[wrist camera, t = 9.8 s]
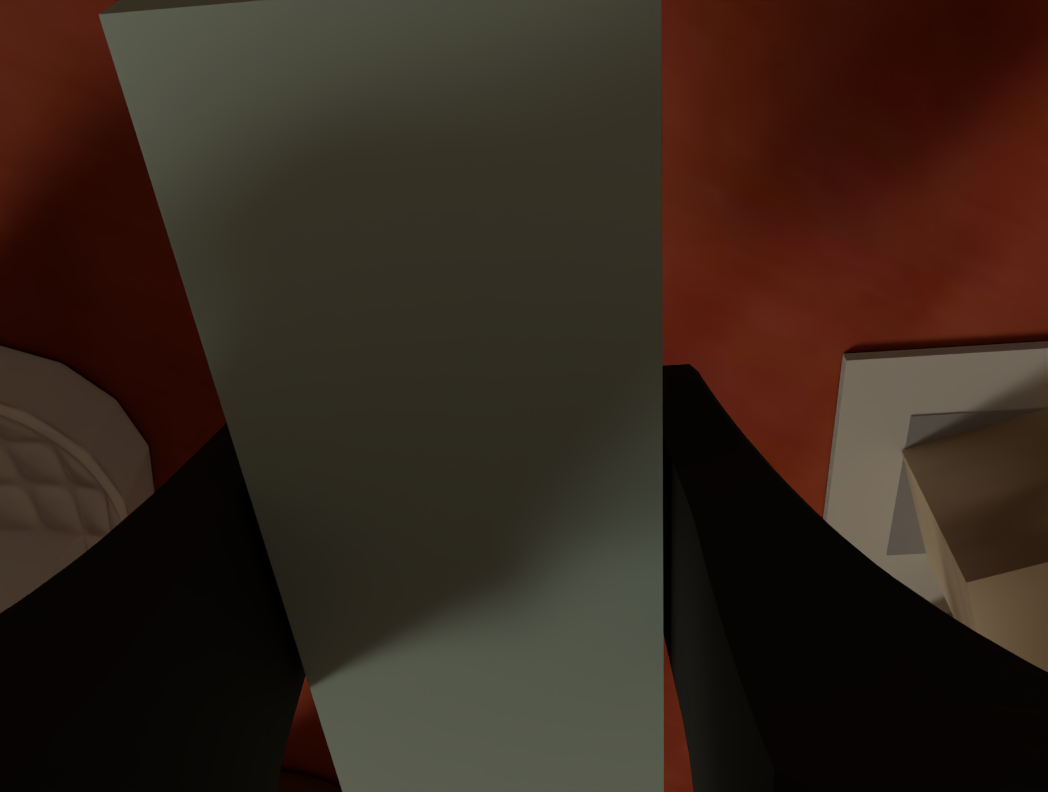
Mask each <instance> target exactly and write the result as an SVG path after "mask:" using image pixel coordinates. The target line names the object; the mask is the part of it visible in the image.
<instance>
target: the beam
mask: <svg viewBox="0 0 1048 792" xmlns="http://www.w3.org/2000/svg"><path fill="white" fill-rule="evenodd" d="M99 17H100V20H101V23H102V27H103V30H104V33H105V36H106V39H107V43H108V46H109V49H110V52H111V55H112V59H113V62H114V65H115V68H116V71H117V75H118V78H119V81H120V84H121V87H122V90H123V94H124V97H125V100H126V103H127V106H128V110H129V113H130V116H131V119H132V122H133V126H134V129H135V132H136V135H137V138H138V141H139V145H140V148H141V151H142V154H143V157H144V161H145V164H146V167H147V170H148V173H149V177H150V180H151V183H152V186H153V189H154V192H155V196H156V199H157V202H158V205H159V208H160V212H161V215H162V218H163V221H164V224H165V228H166V231H167V234H168V237H169V240H170V244H171V247H172V250H173V253H174V256H175V259H176V263H177V266H178V269H179V272H180V275H181V279H182V282H183V285H184V288H185V291H186V295H187V298H188V301H189V304H190V307H191V310H192V314H193V317H194V320H195V323H196V326H197V330H198V333H199V336H200V339H201V342H202V346H203V349H204V352H205V355H206V358H207V362H208V365H209V368H210V371H211V374H212V377H213V381H214V384H215V387H216V390H217V393H218V397H219V400H220V403H221V406H222V409H223V413H224V416H225V419H226V422H227V425H228V428H229V432H230V435H231V438H232V441H233V444H234V448H235V451H236V454H237V457H238V460H239V464H240V467H241V470H242V473H243V476H244V479H245V483H246V486H247V489H248V492H249V495H250V499H251V502H252V505H253V508H254V511H255V515H256V518H257V521H258V524H259V527H260V531H261V534H262V537H263V540H264V543H265V546H266V550H267V553H268V556H269V559H270V562H271V566H272V569H273V572H274V575H275V578H276V582H277V585H278V588H279V591H280V594H281V597H282V601H283V604H284V607H285V610H286V613H287V617H288V620H289V623H290V626H291V629H292V633H293V636H294V639H295V642H296V645H297V649H298V652H299V655H300V658H301V661H302V664H303V668H304V671H305V674H306V677H307V680H308V684H309V687H310V690H311V693H312V696H313V700H314V703H315V706H316V709H317V712H318V715H319V719H320V722H321V725H322V728H323V731H324V735H325V738H326V741H327V744H328V747H329V751H330V754H331V757H332V760H333V763H334V766H335V770H336V773H337V776H338V779H339V782H340V786H341V789H342V792H664V709H663V376H662V42H661V0H119V1H117V2H116V3H115V4H113V5H112V6H110V7H109V8H107V9H106V10H104V11H103V12H101V13H100V14H99Z"/></svg>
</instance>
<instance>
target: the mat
mask: <svg viewBox="0 0 1048 792" xmlns="http://www.w3.org/2000/svg"><path fill="white" fill-rule="evenodd" d="M1047 408H1048V341H1041V342H1025V343H1009V344H993V345H977V346H961V347H945V348H928V349H912V350H896V351H880V352H864V353H848V354H843V359H842V367H841V375H840V384H839V392H838V400H837V408H836V417H835V425H834V433H833V441H832V450H831V458H830V466H829V474H828V483H827V491H826V499H825V507H824V516H823V519H824V520H825V521H826V522H827V523H828V524H829V525H830V526H832V527H833V528H834V529H835V530H836V531H837V532H838V533H839V534H841V535H842V536H843V537H844V538H845V539H846V540H848V541H849V542H850V543H851V544H852V545H854V546H855V547H856V548H857V549H858V550H860V551H861V552H862V553H863V554H864V555H866V556H867V557H868V558H869V559H870V560H872V561H873V562H874V563H875V564H877V565H878V566H879V567H881V568H882V569H883V570H885V571H886V572H887V573H889V574H890V575H891V576H893V577H894V578H895V579H897V580H898V581H900V582H901V583H903V584H904V585H906V586H907V587H909V588H910V589H911V590H913V591H914V592H916V593H917V594H919V595H920V596H922V597H923V598H925V599H926V600H928V601H929V602H930V603H932V604H933V605H935V606H936V607H938V608H939V609H941V610H942V611H944V612H945V613H947V614H948V615H950V616H951V617H953V618H954V616H953V614H952V612H951V610H950V608H949V605H948V603H947V601H946V599H945V597H944V595H943V592H942V590H941V588H940V586H939V584H938V581H937V579H936V577H935V575H934V573H933V571H932V568H931V566H930V564H929V562H928V560H927V555H926V551H925V547H924V543H923V539H922V534H921V530H920V526H919V522H918V518H917V514H916V509H915V505H914V501H913V497H912V493H911V488H910V484H909V480H908V476H907V472H906V468H905V463H904V459H903V455H902V451H901V450H904V449H907V448H911V447H914V446H918V445H921V444H925V443H928V442H932V441H935V440H939V439H942V438H946V437H949V436H953V435H956V434H960V433H963V432H967V431H970V430H974V429H977V428H980V427H984V426H987V425H991V424H994V423H998V422H1001V421H1005V420H1008V419H1012V418H1015V417H1019V416H1022V415H1026V414H1029V413H1033V412H1036V411H1040V410H1043V409H1047Z"/></svg>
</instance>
